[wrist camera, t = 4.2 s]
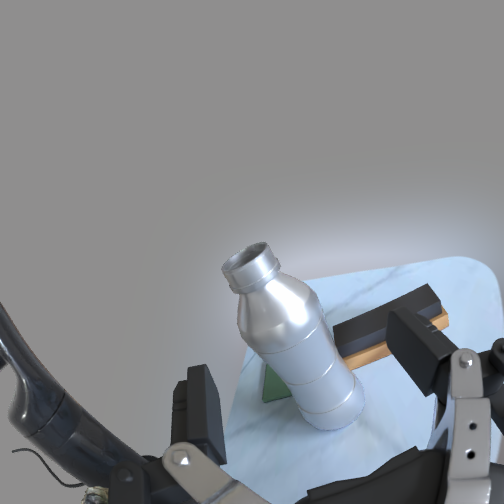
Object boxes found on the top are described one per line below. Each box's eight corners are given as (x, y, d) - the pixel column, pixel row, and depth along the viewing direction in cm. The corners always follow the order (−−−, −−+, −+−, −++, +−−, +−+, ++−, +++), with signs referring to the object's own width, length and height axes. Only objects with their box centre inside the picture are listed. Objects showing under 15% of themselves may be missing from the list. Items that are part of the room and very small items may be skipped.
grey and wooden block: (343, 373, 30) (332, 352, 29) (338, 346, 35) (328, 325, 34) (449, 325, 26) (446, 300, 25) (434, 303, 31) (429, 279, 30)
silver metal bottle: (375, 424, 22) (289, 252, 16) (311, 444, 23) (192, 298, 18) (363, 379, 28) (287, 221, 22) (308, 399, 29) (213, 258, 24)
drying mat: (264, 402, 32) (261, 400, 32) (270, 347, 42) (268, 344, 42) (332, 383, 30) (330, 380, 30) (325, 327, 40) (323, 324, 40)
